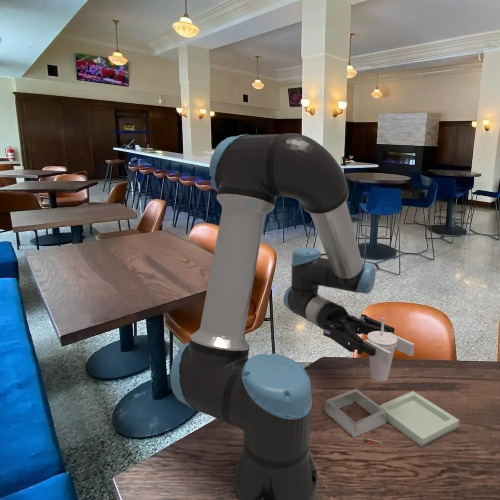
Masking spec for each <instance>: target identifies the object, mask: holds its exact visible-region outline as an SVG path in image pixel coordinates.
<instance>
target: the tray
mask: <svg viewBox="0 0 500 500" xmlns="http://www.w3.org/2000/svg"><path fill="white" fill-rule="evenodd" d="M378 405H379V404H378ZM379 406H381V407H382V408H383V409H385V410H386V411H387V419H386V422H388V423H389V424H390V425H392V427H394V428H396V429H397V430H398V431H399V432H401V433H402V434H404V435H405V436H406V437H407V438H409V439H410V440H411V441H412V442H414V443H415V444H417V445H418V446H419V447H421V448H424V447H426V446H427V445H429V444H432V443H434V442H435V441H436V440H439V439H440V438H442V437H444V436H446V435H448V434H450V433H452V432H454V431H455V430H458V429H459V426H460V419H458V418H457V417H455V416H454V415H452V414H451V413H449V412H447V411H446V410H444V409H443V408H441V407H440V406H438V405H436V404H434V403H433V402H431V401H430V400H428V399H426V398H425V397H423V396H422V395H420V394H418V393H417V392H415V391H414V390H412V391H410V392H407V393H405V394H403V395H400V396H399V397H396V398H393V399H391V400H389V401H386V402H384V403H382V404H380V405H379Z"/></svg>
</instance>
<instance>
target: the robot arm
mask: <svg viewBox="0 0 500 500" xmlns="http://www.w3.org/2000/svg"><path fill="white" fill-rule="evenodd" d="M208 171H209V172H208V173H209V176H210V177H211V179H210V183H211V186H212V187H213V189H214V190H215V191H216V200H217V201H218V202H219V204H220V206H221V214H220V220H219V223H218V230H217V236H216V241H215V247H214V252H213V255H212V256H213V257H212V263H211V267H210V273H209V278H208V284H207V289H206V293H205V294H206V296H205V298H204V299H205V300H204V305H203V310H202V316H201V320H200V321H201V322H200V326H199V327H200V328H199V329H198V330H196V331H195V332H193V333H192V334H191V335H190V337H189V341H188V342H186V343H185V344H183V345H182V346H181V347H180V348H179V349H178V351H177V352H178V354H175V356H174V357H173V361H172V363H171V368H170V373H169V374H170V378H169V379H170V386H171V390H172V392H173V394H174V396H175V397H176V398H177V400H178V401H179V402H181V403H183V404H184V405H186V406H188V407H189V408H191V409H192V410H193V411H197V412H201V413H203V414H206V415H208V416H210V417H212V418H214V419H217V420H219V421H221V422H224V423H227V424H229V425H231V426H233V427H235V428H238V429H239V430H241V431H242V433H243V435H242V436H243V446H242V448H241V451H240V453H239V457H238V459H237V461H236V463H235V466H234V472H233V473H234V474H233V481H234V482H233V483H234V491H235V494H236V497H237V499H238V500H316V498H317V493H318V485H319V484H318V482H319V481H318V480H319V479H318V472H317V471H318V470H317V468H316V464H315V461H314V459H313V455H312V453H311V450H310V436H311V419H312V418H311V416H312V415H311V413H312V408H313V407H312V405H313V396H312V384H311V378H310V376H309V374H308V373H307V370H306V369H305V368H304V367H303V366H302V365H301V364H300V363H299V362H297V361H296V360H294V359H292V358H290V357H288V356H286V355H282V354H278V353H270V355H269V354H267V353H259V354H256V355H253V356H252V357H249V353H250V344H249V343H248V341H247V339H246V338H245V330H246V326H247V321H248V314H249V309H250V303H251V297H252V291H253V286H254V281H255V275H256V269H257V263H258V260H259V259H258V258H259V252H260V247H261V241H262V236H263V230H264V225H265V219H266V216H267V215H268V214H269V213H271V212H272V211H273V210H275V205H276V201H277V198H278V197H279V198H290V199H291V198H292V199H294V200H297V201H298V202H299V203H300V206H301V208H302V209H303V210H304V211H305V212H307V213H309V214H310V217H311V218H312V222H313V224H314V228H315V229H316V232H317V234H318V237H319V240H320V243H321V245H322V247H323V250H324V252H325V254H326V257H327V258H325V257H321V252H320V250H319V249H318V248H314V247H309V246H307V247H303V246H302V247H298V248H295V249H294V250H293V252H292V257H291V259H292V260H291V264H290V265H291V286H289V287H288V288H287V289H286V290H285V294H283V304H284V306H285V307H286V308H287V309H288V310H289V311H291V312H292V313H293V314H295V315H297V316H299V317H301V318H303V319H305V320H306V321H308V322H309V323H312V324H313V325H315V326H316V327H318V328H320V329H322V331H323V332H322V335H323V336H324V337H326V338H328V339H331V340H332V341H334V342H335V343H337V344H338V346H339V345H340V347H343V349H345V350H347V351H348V352H349V353H354V352H356V354H357V355H363V353H365V354H366V355H368V356H369V355H370V356H373V357H374V358H376V359H378V360H380V361H381V362H383V363H385V364H386V365H390V364H391V365H392V362H391V354H392V352H390V351H388V350H386V349H384V348H382V347H381V346H379V345H377V344H375V343H373V342H371V341H369V340H367V339H363V338H362V337H361V335H366V336H367V335H368V333H370V332H373V331H381V324H382V321H379V320H376V319H373V318H372V317H369V316H368V315H366V314H364V313H363V314H362V313H361V314H360V317H357V316H354V315H350V314H349V313H348V311H347V310H346V308H345V307H343V306H342V305H339V304H338V303H336V302H333V301H331V300H330V299H328V298H325V297H323V296H321V295H319V289H320V288H319V287H323V288H324V287H325V288H331V289H336V290H341V291H347V292H351V293H355V294H356V293H358V294H369V293H371V292H372V290H373V288H374V285H375V283H376V282H375V281H376V268H375V266H374V265H372V264H367V263H364V262H363V260H362V257H361V253H360V248H359V245H358V241H357V237H356V234H355V229H354V226H353V223H352V222H353V221H352V218H351V215H350V211H349V207H348V203H347V200H348V197H349V194H350V193H349V191H350V189H349V186H348V182H347V178H346V175H345V173H344V171H343V169H342V167H341V165H340V164H339V163H338V161H337V160H336V159H335V158H334V156H333V155H332V153H330V151H328V150H327V149H326V148H325V147H324V146H322V144H320V143H319V142H317V140H314V139H313V138H311V137H309V136H307V135H303V134H300V133H296V132H295V133H294V132H293V133H291V132H290V133H288V132H287V133H278V134H277V133H276V134H247V133H245V134H240V135H237V136H236V135H235V136H229V137H226V138H225V139H224V140H221V141H220V143H218V145H217V146H216V147H215V148H214V151H213V153H212V155H211V158H210V162H209V170H208ZM384 332H388V333H390V334H393V335H394V336H395V337H396V338H397V340H398V341H397V346H396V347H395V350H398V351H400V353H404V355H407V356H409V357H413V356H414V351H415V350H414V349H415V343H413V342H411V341H409V340H407V339H405V338H402V337H400V336H399V335H396V334H395V327H393V326H390V325H388V324H386V323H384Z"/></svg>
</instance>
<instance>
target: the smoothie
mask: <svg viewBox="0 0 500 500" xmlns="http://www.w3.org/2000/svg"><path fill="white" fill-rule="evenodd" d="M385 319H386V318H385V317H381V323H382V324H381V331H373V332H370V333H368V335H366V340H369V341H371V342H373V343H375V344H377V345H379V346H381V347H382V348H384V349H386V350H388V351H390V352H392V354H391V364H390V365H386V364H385V363H383V362H381V361H380V360H378V359H376V358H374V357H373V356H370V355H368V357H369V358H368V360H369V375H370V378H371V379H373V380H374V381H376V382H386V381H387V380H388V379H389V375H390V370H391V365H392V362H393V359H394V358H393V357H394V354H395V350H396V349H395V347H396V346H397V341H398V340H397V338H396V337H395V336H394V335H393V334H390V333H388V332H384V324H385Z"/></svg>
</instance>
